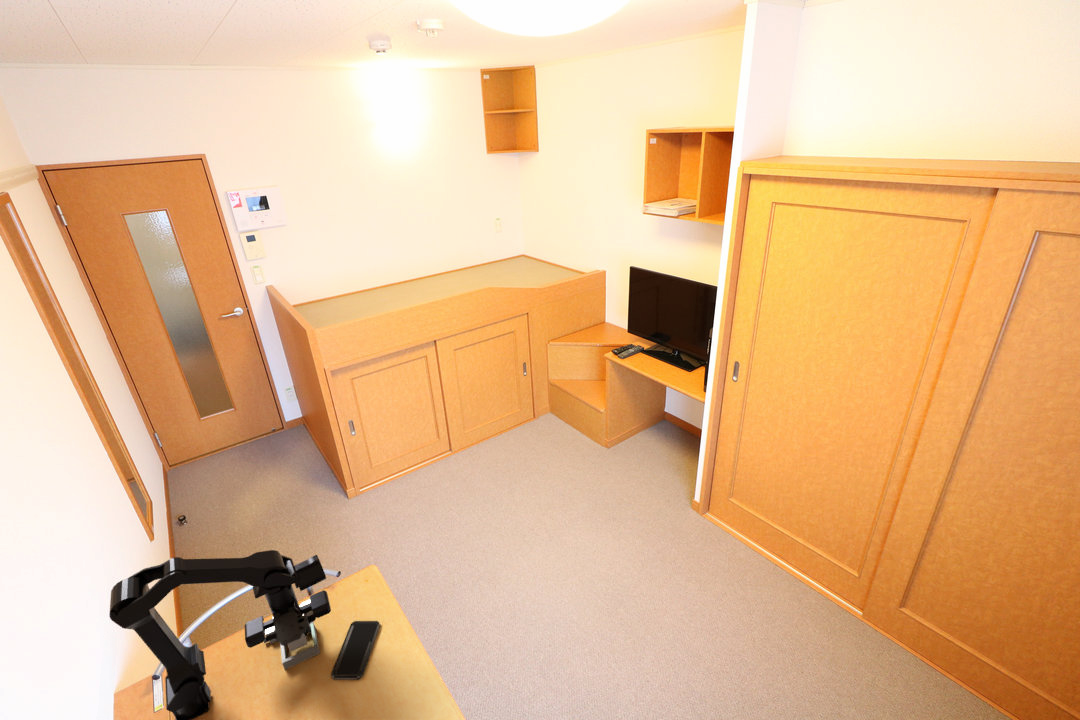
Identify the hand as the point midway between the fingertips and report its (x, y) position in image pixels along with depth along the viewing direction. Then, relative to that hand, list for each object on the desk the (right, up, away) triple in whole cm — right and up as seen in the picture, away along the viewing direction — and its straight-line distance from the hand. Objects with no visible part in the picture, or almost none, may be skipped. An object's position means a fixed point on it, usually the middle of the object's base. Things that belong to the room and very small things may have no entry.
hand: (297, 639), depth 126 cm
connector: (0, -1, +1) cm, 1 cm away
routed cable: (-5, -1, +6) cm, 8 cm away
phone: (+15, -4, +1) cm, 15 cm away
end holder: (0, -3, +2) cm, 4 cm away
